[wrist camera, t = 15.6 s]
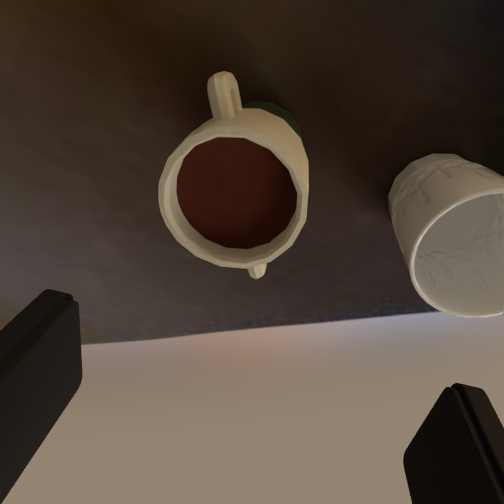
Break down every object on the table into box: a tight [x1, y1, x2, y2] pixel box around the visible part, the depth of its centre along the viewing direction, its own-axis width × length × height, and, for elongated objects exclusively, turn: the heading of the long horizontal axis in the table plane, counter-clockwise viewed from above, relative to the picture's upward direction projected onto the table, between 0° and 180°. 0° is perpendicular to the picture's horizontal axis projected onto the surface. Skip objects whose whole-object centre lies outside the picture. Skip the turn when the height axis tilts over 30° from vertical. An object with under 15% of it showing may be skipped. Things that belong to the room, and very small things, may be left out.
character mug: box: [159, 71, 309, 279], centre depth 23 cm, size 11×7×13 cm, turn 11°
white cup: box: [388, 153, 504, 318], centre depth 25 cm, size 8×8×10 cm
